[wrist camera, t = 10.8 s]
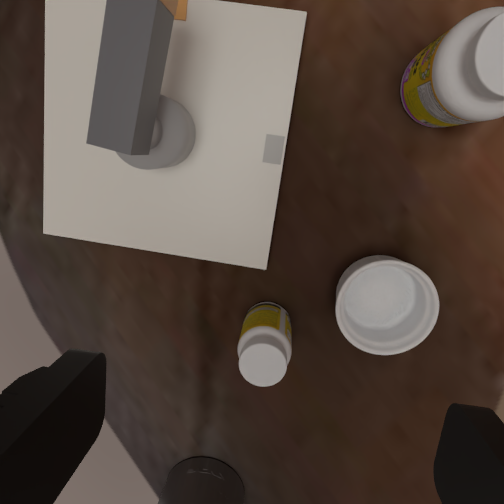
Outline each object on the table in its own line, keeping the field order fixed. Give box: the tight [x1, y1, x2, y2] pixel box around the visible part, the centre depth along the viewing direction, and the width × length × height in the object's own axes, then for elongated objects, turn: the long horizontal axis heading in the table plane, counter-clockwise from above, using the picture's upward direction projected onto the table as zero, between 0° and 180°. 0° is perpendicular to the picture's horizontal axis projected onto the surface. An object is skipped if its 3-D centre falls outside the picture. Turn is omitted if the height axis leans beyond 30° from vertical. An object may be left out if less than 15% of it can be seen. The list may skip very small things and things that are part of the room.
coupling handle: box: [86, 0, 178, 155], centre depth 27 cm, size 10×3×6 cm, turn 166°
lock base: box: [43, 0, 307, 270], centre depth 34 cm, size 22×22×6 cm
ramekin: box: [335, 255, 439, 355], centre depth 37 cm, size 9×9×4 cm
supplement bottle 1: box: [238, 302, 292, 387], centre depth 37 cm, size 5×5×8 cm
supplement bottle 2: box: [400, 7, 504, 127], centre depth 28 cm, size 7×7×13 cm
